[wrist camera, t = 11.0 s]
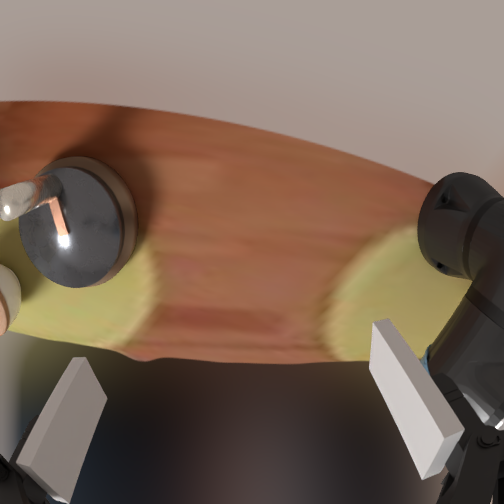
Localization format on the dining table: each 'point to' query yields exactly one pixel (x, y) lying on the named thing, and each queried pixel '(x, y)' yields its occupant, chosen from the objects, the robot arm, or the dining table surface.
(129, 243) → the wheel base
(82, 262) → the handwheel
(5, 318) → the lidded jar
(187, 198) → the dining table surface
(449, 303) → the dining table surface
